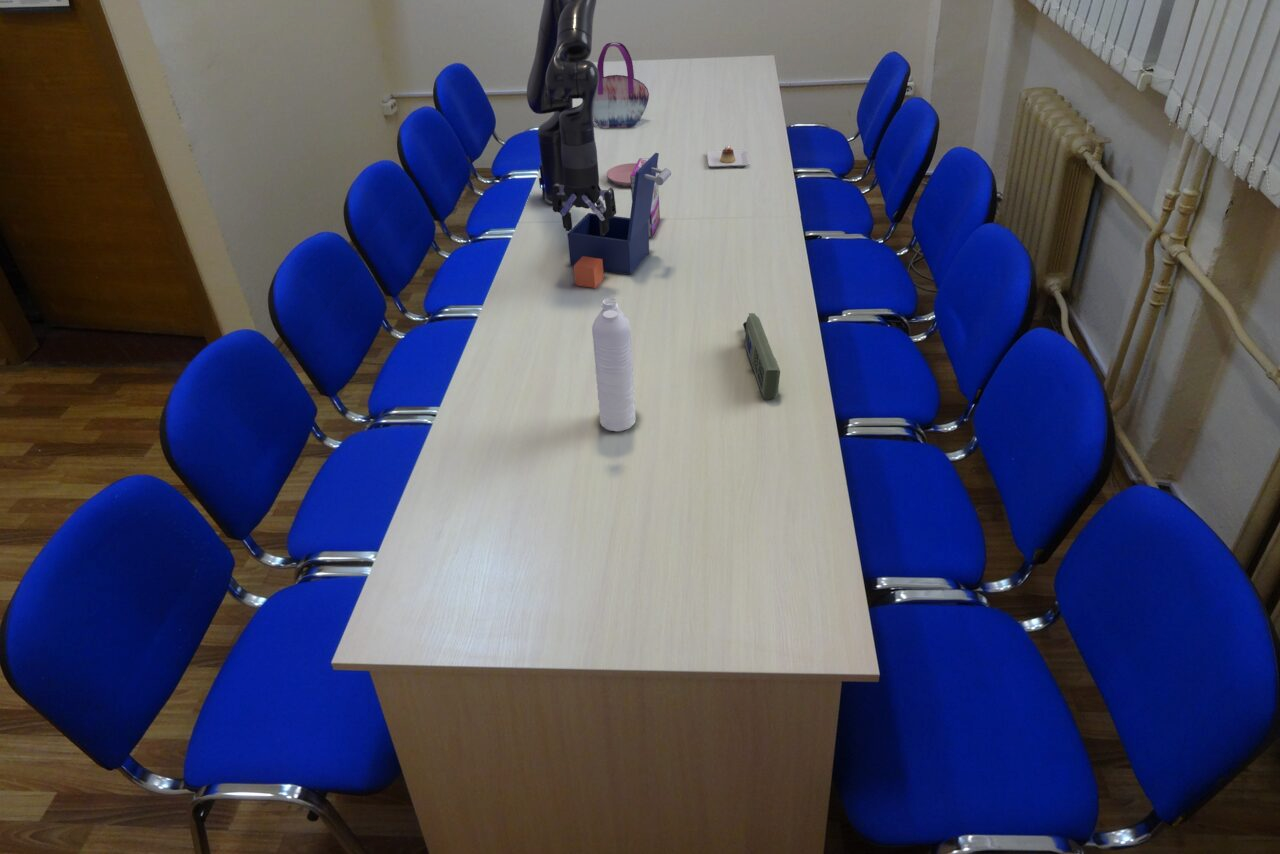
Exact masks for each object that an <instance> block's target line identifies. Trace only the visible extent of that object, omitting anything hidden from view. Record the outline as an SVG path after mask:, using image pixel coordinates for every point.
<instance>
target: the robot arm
mask: <svg viewBox="0 0 1280 854" xmlns="http://www.w3.org/2000/svg"><path fill="white" fill-rule="evenodd" d="M597 1H598V0H543V5H542V9H541V15H540V20H539V26H538V31H537V32H538V33H537V34H538V35H537V42H536V49H535V53H534V59H533V63H532V65H531V69H530V72H529V76H528V79H527V84H526V101H527V104H528V106H529V109H530V110H531V111H532V112H533V113H534V114H537V115H546V114H551V113H553V114H552V115H551V116H550V117H549V118H548V119H547V120H546V121H545V122H543V123H542V124H540V125H539V127H538V129H537V137H538V144H539V154H540V162H541V163H540V165H539V174H540V177H539V178H538V183H539V189H541V192H542V199H543V200H545V201H544V202H545V203H546V204H548V205H551V206H552V211H553V212H554V213H558V214H560V216H561V220H562V221H561V222H562V227H563V229H564V231H565V232H569V231H570V230H571V229H572V228H573V221H572V220H573V219H572V212H570V211H571V210H572V208H573V207H575V208H583V209H586V210H589V209H590V210H591V212H592V213H594V214H596V215H597V216H598V217H599V219H600V220H599V225H600V235H601V236H604V235H605V234H606V233H607V232H608V231H609V222H608V219H611V218H612V217H613V216H615V215H616V214H617V207H616V199H615V191H614V189H613V188H612V187H609V188H608V189H602V188H601V186H600V175H599V173H600V171H599V161H598V149H597V144H596V138H595V137H596V136H595V126H594V124H595V123H594V122H595V121H594V118H593V113H594V104H595V98H596V94H597V89H598V84H599V72H598V69H597V66H596V64H595V63H594V62H593V61H591V60H588V59H589V58H590V56H591V54H592V48H593V47H592V46H593V25H594V17H595V11H596V5H597ZM577 99H578V100H579V99H580V100H582V102H581V104H579V105H576V106H574V105H573V103H574V101H573V100H577ZM601 198H602V200H601ZM603 202H604V203H603ZM604 205H605V206H604Z"/></svg>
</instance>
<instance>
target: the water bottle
mask: <svg viewBox="0 0 1280 854" xmlns="http://www.w3.org/2000/svg"><path fill="white" fill-rule="evenodd" d="M591 327H592V328H591V332H592V340H593V342H592V343H593V352H594V354H593V355H594V363H595V364H594V365H595V366H594V367H595V375H596V378H595V379H596V389H597V401H598V411H599V413H598V414H599V422H600V425H601V427H603V428H604V429H605V430H607V431H611V432H613V431H614V432H623V431H626V430H628V429H630V428H632V426H634V424H635V423H636V409H635V408H636V402H635V385H634V365H633V350H632V329H631V328H632V327H631V323H630V321H629V319H628V317H627V316H626V315H625V314H624V313H623V312H622V311H621V310H620V308H619V304H618V303H617V300H616V298H613V297H608V298H605V299H603V300H602V304H601V310H600V311H599V313H598V315H597V316H596V317H595V319H594V321H593V323H592V326H591Z"/></svg>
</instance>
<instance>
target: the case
mask: <svg viewBox="0 0 1280 854" xmlns="http://www.w3.org/2000/svg"><path fill="white" fill-rule="evenodd" d="M599 220H600V219H599V217H598V216H597V215H596V213H593V212H588V213H587V214H585V215H584V216H583V218H581V220H579V222H577V223H576V224H575V225H573V226H572V229H571V230H570V231H567V233H566V234H567V243H568V254H569V263H570V267H574V265H575V264H576V263H577V262H578V261H579V260H580V259H581V257H582V256H586V257H593V258H599V259H602V260H603V272H612V273H618V274H625V275H632V273H634V271H635V270H636V269H637V268H638V266H639V265H640V264H641V263H642V262H643V261H644V259H645V258H646V256H648V254H649V253H650V238H649V234H648V221H647V222H646V223H645V225H644V226H643V227H642V228H641V229H640V230H639V231H638V233H637V234H636V235H635V236H634V237H633V238H632V239H631V240H628V231H629V223H630V217H625V216H624V217H623V216H617V215H616V216H615V215H614V216H613V217H612V218H611V219H608V222H609V231H608V232H607V233H606V234H605V235H604V236H601V235H600V225H599Z"/></svg>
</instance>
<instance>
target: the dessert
mask: <svg viewBox="0 0 1280 854" xmlns="http://www.w3.org/2000/svg"><path fill="white" fill-rule="evenodd" d="M706 157H707V158H706V159H707V164H708V165H707V166H708V167H711V168H735V167H737V168H738V167H739V168H740V167H746V166H749V165H751V163H750V159H749V158H750V157H749V154H748V151H747V149H732V148H731V147H730V146H729V145H728V144H727V145H725V147H724V149H722V150H706Z"/></svg>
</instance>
